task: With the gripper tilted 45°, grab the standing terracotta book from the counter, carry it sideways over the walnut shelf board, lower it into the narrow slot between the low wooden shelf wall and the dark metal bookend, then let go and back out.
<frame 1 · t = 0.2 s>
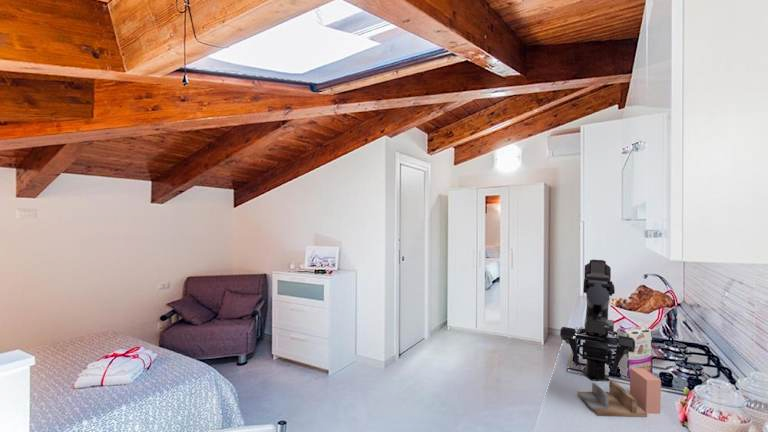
hand: (595, 369, 105), 15 cm above the counter, tool tilted 30°, fingers open, 9 cm apart
book rack: (610, 405, 114), on the counter
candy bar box: (633, 374, 135), on the counter
book: (644, 406, 113), on the counter
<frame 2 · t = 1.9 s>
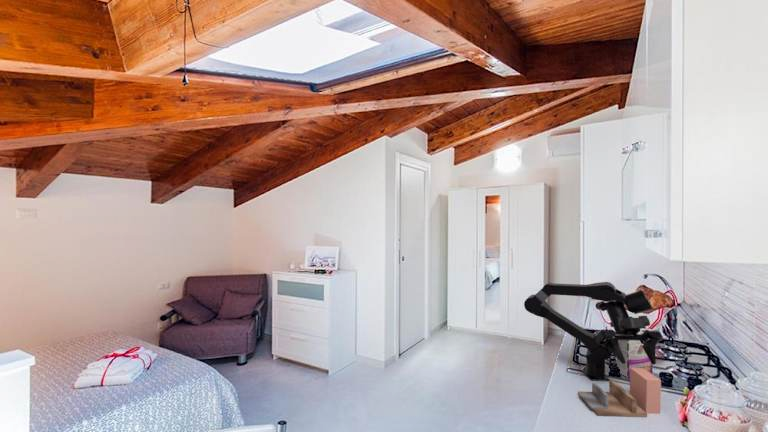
hand: (639, 363, 116), 12 cm above the counter, tool tilted 45°, fingers open, 9 cm apart
nothing on the counter moved.
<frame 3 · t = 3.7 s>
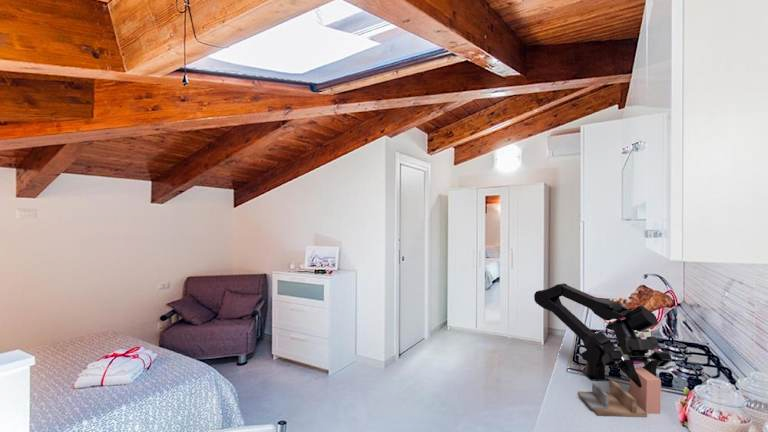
hand: (647, 387, 112), 7 cm above the counter, tool tilted 45°, fingers closed on book, 4 cm apart
book: (644, 406, 113), on the counter, touching gripper
everything else where it was.
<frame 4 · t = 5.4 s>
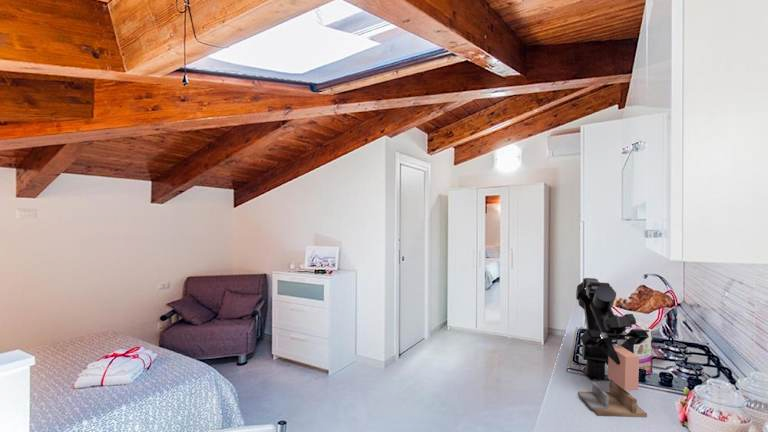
hand: (626, 364, 112), 14 cm above the counter, tool tilted 45°, fingers closed on book, 4 cm apart
book: (622, 383, 113), point 7 cm above the counter, touching gripper
everything else where it was.
when the fingers open (8 cm above the counter, at t = 7.1 s): book stays where it is, resting on book rack.
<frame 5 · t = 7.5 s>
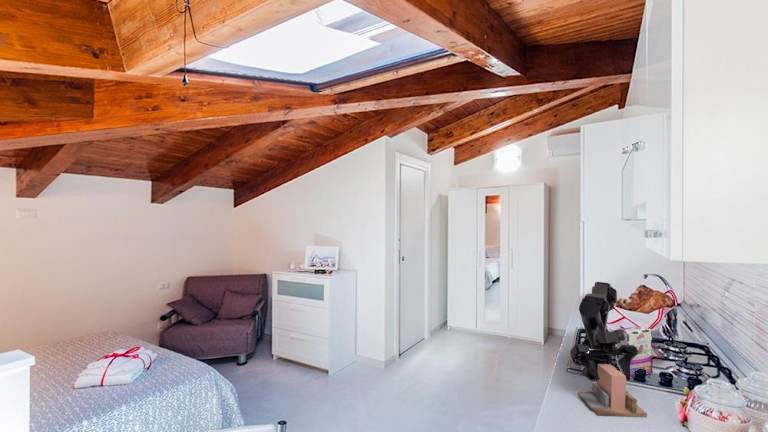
hand: (613, 379, 112), 9 cm above the counter, tool tilted 45°, fingers open, 9 cm apart
book: (610, 401, 114), point 1 cm above the counter, touching book rack
everything else where it was.
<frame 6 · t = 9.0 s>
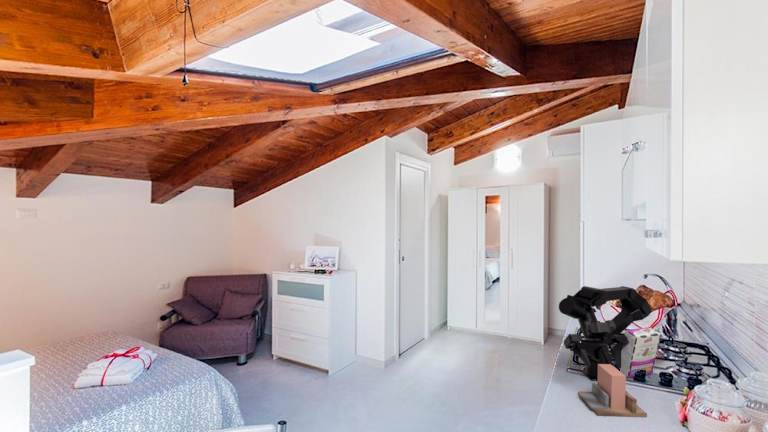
hand: (604, 367, 117), 10 cm above the counter, tool tilted 45°, fingers open, 9 cm apart
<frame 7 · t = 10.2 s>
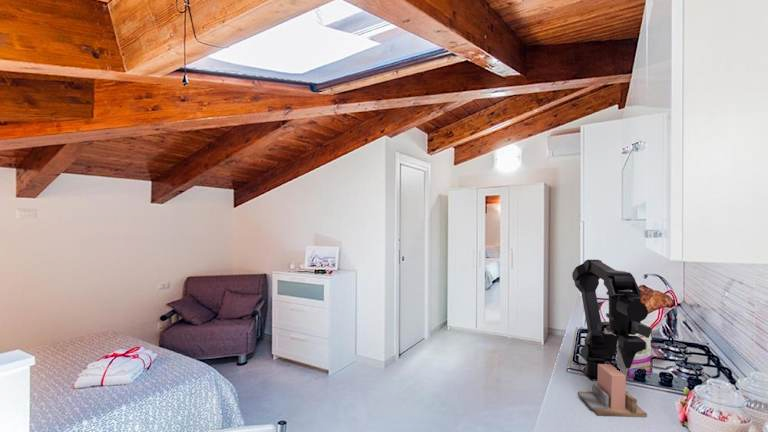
hand: (620, 362, 116), 12 cm above the counter, tool pointing down, fingers open, 9 cm apart
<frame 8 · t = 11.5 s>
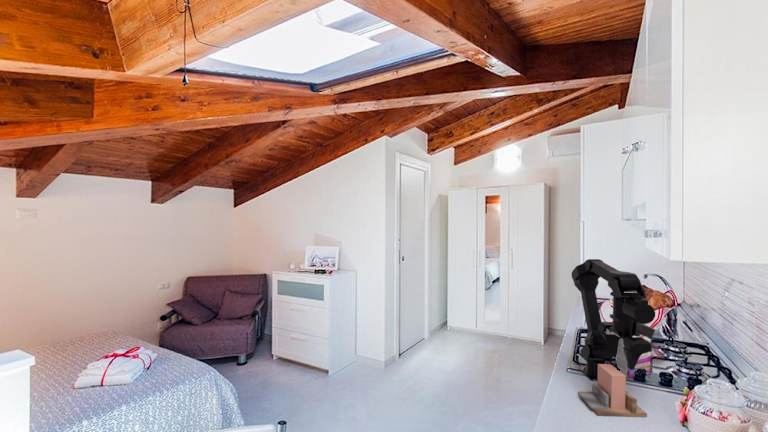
hand: (622, 362, 116), 12 cm above the counter, tool pointing down, fingers open, 9 cm apart
nothing on the counter moved.
at the end: book 0.1 cm off-centre on the book rack, point 1.0 cm above the book rack's base; book tilted 0°; the gripper is holding nothing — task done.
